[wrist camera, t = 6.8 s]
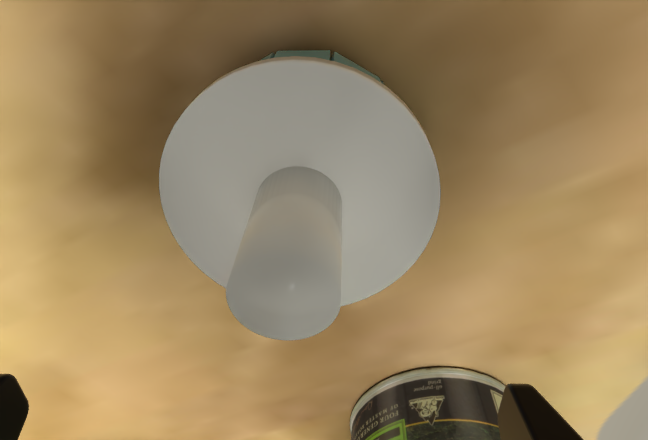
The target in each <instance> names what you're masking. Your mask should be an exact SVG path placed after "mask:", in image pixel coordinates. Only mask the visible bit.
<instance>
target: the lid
mask: <svg viewBox="0 0 648 440" xmlns="http://www.w3.org/2000/svg"><path fill="white" fill-rule="evenodd" d="M159 191H160V198H161V204H162V208H163V211H164V215H165V218H166V221H167V223H168V225H169V228H170V230H171V232H172V234H173V236H174V237H175V239H176V241H177V242H178V244H179V246H180V247H181V249H182V250H183V251H184V252H185V254H186V255H187V256H188V257H189V259H190V260H191V261H192V262H193V263H194V264H195V265H196V266H197V267H198V268H199V269H200V270H201V271H202V272H203V273H205V274H206V275H207V276H209V277H210V278H211V279H212V280H214V281H215V282H216V283H218V284H220V285H221V286H223V287H224V288H226V298H227V303H228V305H229V308H230V310H231V312H232V313H233V315H234V316H235V317H236V319H237V320H238V321H239V322H240V323H241V324H242V325H244V326H245V327H246V328H248V329H249V330H251V331H253V332H255V333H257V334H259V335H262V336H265V337H268V338H272V339H277V340H299V339H304V338H308V337H311V336H314V335H316V334H318V333H320V332H322V331H323V330H325V329H326V328H327V327H328V326H330V325H331V323H332V322H333V321H334V320H335V318H336V317H337V315H338V313H339V310H340V306H344V305H348V304H352V303H355V302H357V301H360V300H363V299H366V298H368V297H370V296H372V295H374V294H376V293H378V292H380V291H381V290H383V289H385V288H386V287H388V286H389V285H391V284H392V283H394V282H395V281H396V280H397V279H399V278H400V277H401V276H402V275H403V274H405V273H406V272H407V270H408V269H409V268H410V267H411V266H412V265H413V264H414V263H415V262H416V260H417V259H418V258H419V256H420V255H421V254H422V252H423V251H424V249H425V247H426V245H427V244H428V242H429V240H430V238H431V236H432V233H433V230H434V228H435V225H436V222H437V217H438V213H439V208H440V192H441V189H440V179H439V172H438V168H437V164H436V160H435V156H434V154H433V151H432V148H431V146H430V144H429V141H428V139H427V136H426V134H425V132H424V130H423V128H422V126H421V125H420V123H419V122H418V120H417V118H416V117H415V115H414V114H413V113H412V111H411V110H410V109H409V108H408V107H407V105H406V104H405V103H404V102H403V101H402V100H401V99H400V98H399V97H398V96H397V95H396V94H395V93H394V92H392V91H391V90H390V89H389V88H388V87H386V86H385V85H384V84H382V83H381V82H379V81H378V80H376V79H375V78H373V77H372V76H370V75H368V74H366V73H364V72H362V71H360V70H358V69H356V68H353V67H350V66H347V65H344V64H341V63H338V62H335V61H331V60H326V59H321V58H315V57H300V56H290V57H277V58H270V59H266V60H261V61H256V62H253V63H250V64H248V65H245V66H242V67H239V68H237V69H235V70H233V71H231V72H229V73H227V74H225V75H224V76H222V77H220V78H219V79H217V80H216V81H215V82H213V83H212V84H211V85H209V86H208V87H207V88H205V89H204V90H203V91H202V92H201V93H200V94H199V95H198V96H197V97H196V98H195V99H194V100H193V101H192V103H191V104H190V105H189V106H188V107H187V108H186V110H185V111H184V112H183V114H182V115H181V116H180V118H179V119H178V121H177V122H176V123H175V125H174V127H173V129H172V131H171V133H170V135H169V137H168V139H167V141H166V144H165V147H164V150H163V154H162V157H161V164H160V170H159Z"/></svg>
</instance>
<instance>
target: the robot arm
mask: <svg viewBox="0 0 648 440" xmlns="http://www.w3.org/2000/svg"><path fill="white" fill-rule="evenodd" d="M28 410H29V404H28V400H27V398H26V396H25V395H24V393H23V391H22V389H21V387H20V385H19V383H18V381H17V380H16V378H15V377H14V376H13V375H11V374H0V440H18V438H19V435H20V433H21V430H22V428H23V425H24V423H25V420H26V418H27V414H28ZM498 427H499V433H500V438H501V440H583V439H582V438H581V436H580V435H579V434H578V433H577V432H576V431H575V430H574V429H573V428H572V427H571V426H570V425H569V424H568V423H567V422H566V421H565V420H564V419H563V418H562V416H561V415H560V414H559V413H558V412H557V411H556V410H555V409H554V408H553V407H552V406H551V405H550V404H549V403H548V402H547V401H546V400H545V399H544V398H543V396H542V395H541V394H540V393H539V392H538V391H537V390H536V389H535V388H534V387H533V386H531V385H529V384H508V385H506V387H505V389H504V392H503V396H502V400H501V403H500V407H499V411H498Z"/></svg>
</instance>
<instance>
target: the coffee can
mask: <svg viewBox="0 0 648 440" xmlns="http://www.w3.org/2000/svg"><path fill="white" fill-rule="evenodd" d="M505 387H506V386H505V385H503V384H502V383H500V382H499V381H497V380H495V379H493V378H491V377H490V376H487V375H484V374H480V373H477V372H474V371H471V370H465V369H460V368H449V367H436V368H424V369H416V370H412V371H408V372H404V373H401V374H398V375H395V376H393V377H390V378H388V379H386V380H384V381H382V382H380V383H378V384H377V385H375V386H374V387H372V388H371V389H370V390H368V391H367V392H366V393H365V394H364V395H363V396H362V397H361V398H360V399H359V401H358V403H357V404H356V405H355V407H354V409H353V411H352V414H351V418H350V432H351V440H501V438H500V433H499V427H498V411H499V407H500V403H501V400H502V396H503V392H504V389H505Z"/></svg>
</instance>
